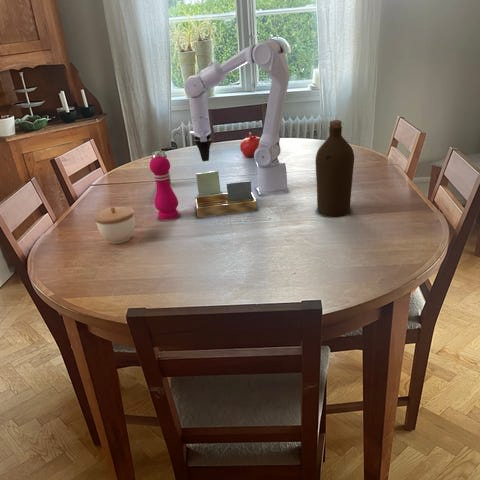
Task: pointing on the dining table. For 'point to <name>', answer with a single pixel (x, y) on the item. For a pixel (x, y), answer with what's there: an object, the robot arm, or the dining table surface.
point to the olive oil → (334, 173)
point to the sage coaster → (208, 182)
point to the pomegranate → (249, 145)
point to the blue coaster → (239, 191)
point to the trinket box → (116, 224)
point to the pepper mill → (163, 188)
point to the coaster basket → (222, 205)
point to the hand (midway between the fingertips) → (205, 159)
